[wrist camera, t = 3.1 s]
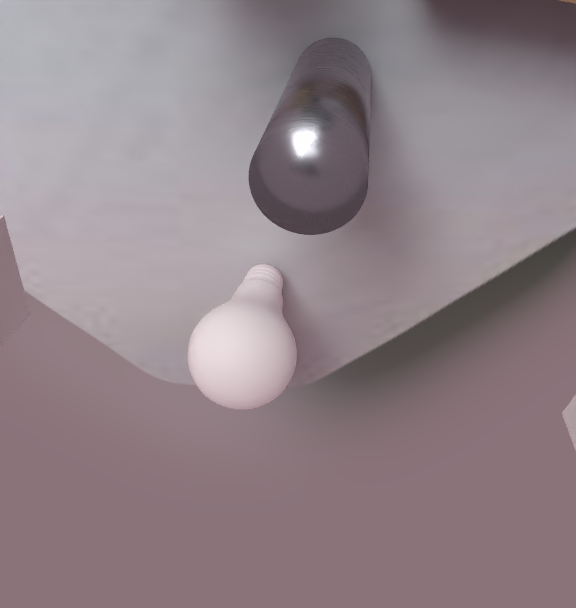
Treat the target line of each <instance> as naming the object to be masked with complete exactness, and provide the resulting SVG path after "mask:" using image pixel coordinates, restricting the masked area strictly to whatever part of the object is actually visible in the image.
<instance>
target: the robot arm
mask: <svg viewBox="0 0 576 608" xmlns="http://www.w3.org/2000/svg"><path fill="white" fill-rule="evenodd" d="M29 315H30V312H29V308H28V304H27V301H26V297H25V293H24V289H23V285H22V282H21V278H20V274H19V270H18V267H17V263H16V259H15V255H14V252H13V248H12V244H11V240H10V237H9V233H8V229H7V225H6V222H5V218H4V216H2V215H0V349H1V348H2V347H3V346H4V344H5V343H6V342H7V341H8V339H9V338H10V337H11V336H12V335H13V334H14V333H15V331H16V330H17V329H18V328H19V327H20V325H21V324H22V323H23V322H24V321H25V319H26V318H27V317H28V316H29ZM562 415H563V418H564V420H565V423H566V426H567V429H568V431H569V434H570V437H571V440H572V442H573V445H574V448H575V451H576V395H575V396H574V398H573V399H572V400H571V402H570V403H569V404H568V406H567V407H566V408H565V410H564V411H563V413H562Z"/></svg>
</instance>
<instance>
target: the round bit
mask: <svg viewBox="0 0 576 608" xmlns="http://www.w3.org/2000/svg"><path fill="white" fill-rule="evenodd" d="M370 103H371V70H370V66H369V63H368V60H367V58H366V56H365V55H364V53H363V52H362V51H361V50H360V49H359V48H358V47H357V46H356V45H355V44H353V43H351V42H349V41H347V40H344V39H341V38H326V39H322V40H319V41H317V42H315V43H314V44H312V45H311V46H309V47H308V48H307V49H306V50H305V51H304V52H303V54H302V55H301V57H300V58H299V60H298V62H297V64H296V67H295V69H294V71H293V73H292V75H291V77H290V79H289V81H288V83H287V86H286V88H285V90H284V92H283V94H282V96H281V98H280V100H279V102H278V105H277V107H276V109H275V111H274V113H273V115H272V117H271V119H270V122H269V124H268V126H267V128H266V130H265V132H264V134H263V136H262V138H261V141H260V143H259V145H258V147H257V149H256V151H255V153H254V155H253V157H252V160H251V164H250V169H249V185H250V190H251V194H252V196H253V199H254V201H255V203H256V204H257V206H258V208H259V209H260V210H261V212H262V213H263V214H264V215H265V216H266V217H267V218H268V219H269V220H270V221H272V222H273V223H275V224H276V225H278V226H279V227H281V228H283V229H285V230H288V231H291V232H294V233H298V234H305V235H315V234H323V233H327V232H330V231H333V230H336V229H338V228H340V227H341V226H343V225H345V224H346V223H347V222H349V221H350V220H351V219H352V218H353V217H354V216H355V215H356V214H357V212H358V211H359V209H360V208H361V206H362V204H363V202H364V200H365V197H366V193H367V188H368V163H369V133H370Z"/></svg>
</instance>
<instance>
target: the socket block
mask: <svg viewBox="0 0 576 608" xmlns="http://www.w3.org/2000/svg"><path fill="white" fill-rule="evenodd" d="M559 1H565V2H570V3H576V0H559Z"/></svg>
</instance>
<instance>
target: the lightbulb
mask: <svg viewBox="0 0 576 608" xmlns="http://www.w3.org/2000/svg"><path fill="white" fill-rule="evenodd" d="M282 288H283V278H282V275H281V273H280V272H279V271H278V270H277V269H276V268H274V267H272V266H270V265H266V264H260V265H256V266H253V267H252V268H251V269H250V270H249V271H248V273H247V274H246V277H245V279H244V281H243V283H242V284H240V285H239V287H238V288H237V289H236V292H235V294H234V296H233V297H232V299H231V300H229V301H227V302H225V303H223V304H221V305H219V306H218V307H216V308H214V309H213V310H211V311H210V312H208V313H207V314H206V315H205V316H204V317H203V318H202V319H201V320H200V322H199V323H198V324H197V326H196V327H195V329H194V331H193V333H192V335H191V338H190V341H189V347H188V365H189V369H190V373H191V375H192V377H193V380H194V382H195V384H196V385H197V386H198V388H199V389H200V390H201V391H202V393H203V394H204V395H205V396H206V397H207V398H209V399H210V400H212V401H213V402H215V403H217V404H219V405H221V406H224V407H227V408H231V409H238V410H247V409H248V410H249V409H254V408H257V407H260V406H262V405H265V404H267V403H269V402H271V401H272V400H274V399H275V398H276V397H278V396H279V395H280V394H281V393H282V392H283V391H284V389H285V388H286V387H287V386H288V384H289V382H290V380H291V379H292V376H293V374H294V372H295V368H296V363H297V348H296V342H295V338H294V335H293V333H292V331H291V329H290V327H289V325H288V323H287V322H286V320H285V318H284V317H283V314H282V308H283V297H282Z"/></svg>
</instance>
